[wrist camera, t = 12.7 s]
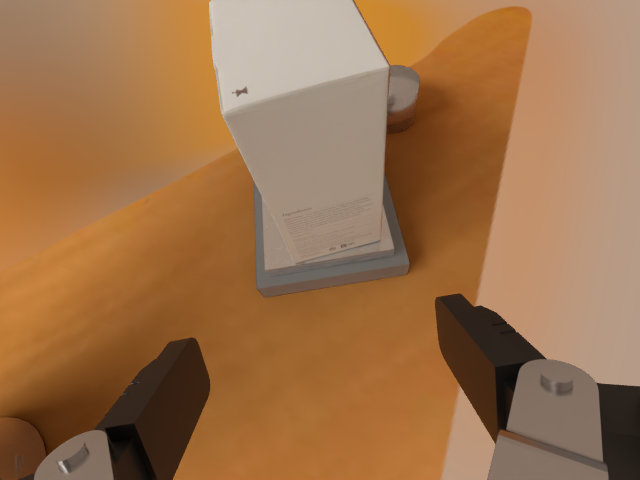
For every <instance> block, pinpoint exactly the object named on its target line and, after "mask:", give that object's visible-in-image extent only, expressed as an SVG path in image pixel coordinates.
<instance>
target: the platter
mask: <svg viewBox="0 0 640 480" xmlns="http://www.w3.org/2000/svg"><path fill="white" fill-rule="evenodd" d="M262 213H263V237H264V261H265V271H266V273H267V274H268V275H269V277H270V276H276V275H283V274H289V273H295V272H301V271H307V270H313V269H319V268H325V267H331V266H337V265H343V264H349V263H355V262H361V261H367V260H373V259H379V258H385V257H391V256H393V255H394V245H393V242H392V238H391V234H390V230H389V226H388V222H387V218H386V214H385V210H384V206H382V229H381V239H380V240H379V241H375V242H371V243H368V244H364V245H360V246H357V247H353V248H350V249H346V250H342V251H339V252H335V253H331V254H328V255H324V256H321V257H317V258H313V259H309V260H306V261H302V262H298V263H294V261H293V259H292V257H291V255H290V253H289V251H288V249H287V246H286V244H285V242H284V240H283V238H282V235H281V233H280V231H279V229H278V227H277V225H276V223H275V221H274V219H273V217H272V215H271V213H270V211H269V209H268V207H267V206H266V204H265V202H264V200H263V198H262Z"/></svg>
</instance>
